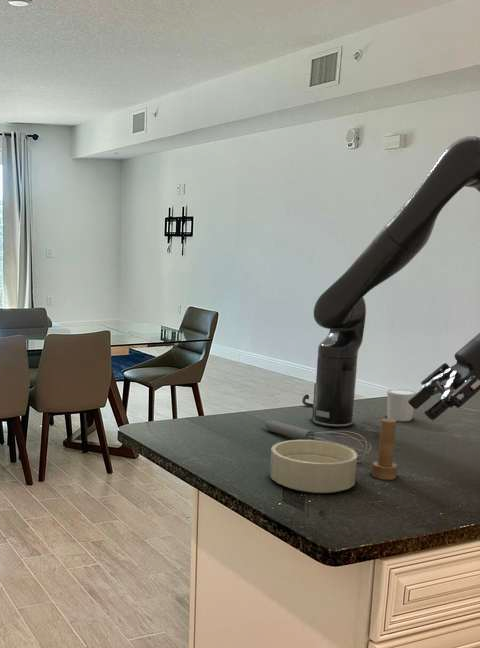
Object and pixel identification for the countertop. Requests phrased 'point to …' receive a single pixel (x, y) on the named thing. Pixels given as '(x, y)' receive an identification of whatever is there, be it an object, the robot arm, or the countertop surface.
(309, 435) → the kitchen whisk
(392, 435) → the tan wooden post
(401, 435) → the countertop surface
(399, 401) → the white cup
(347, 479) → the bowl
